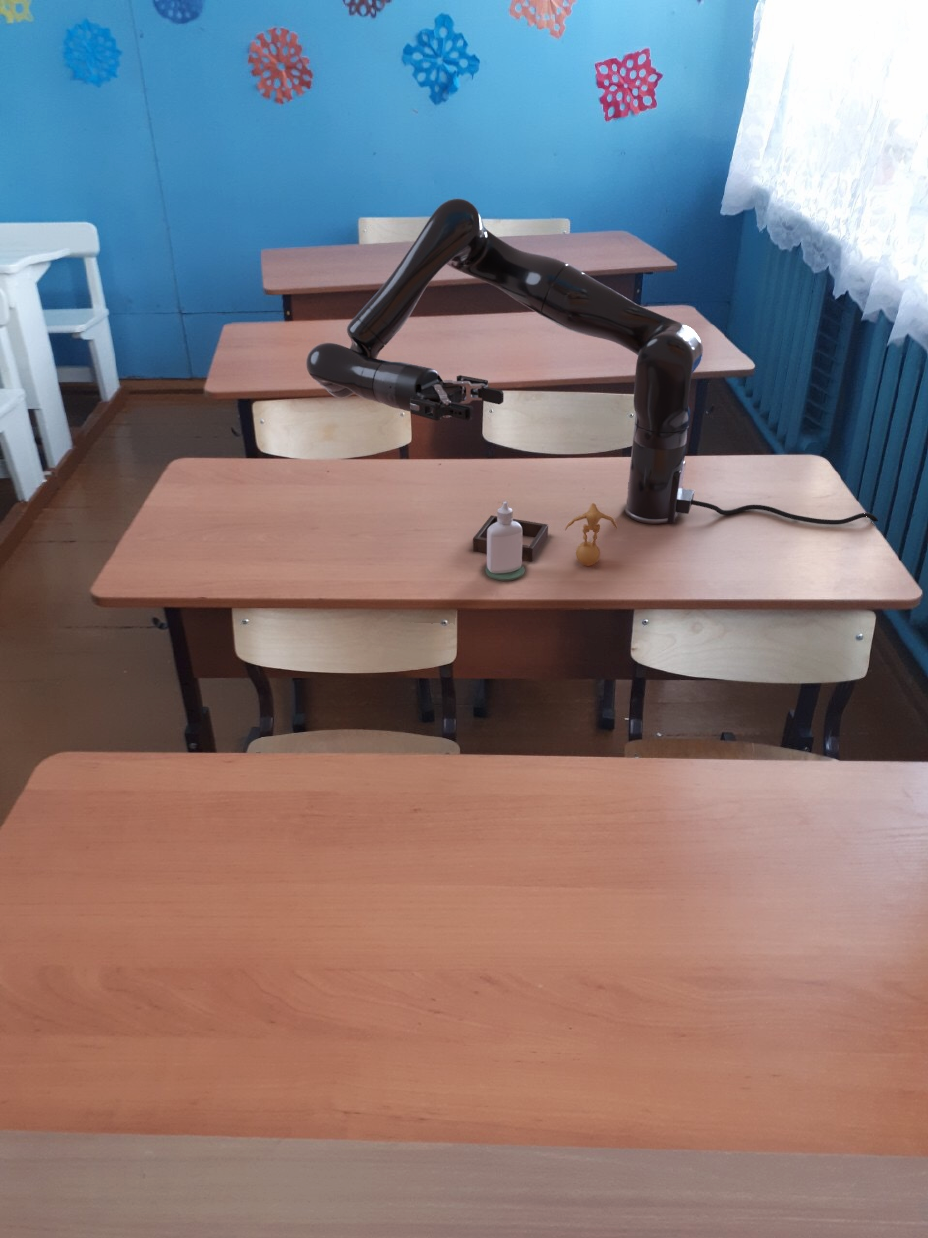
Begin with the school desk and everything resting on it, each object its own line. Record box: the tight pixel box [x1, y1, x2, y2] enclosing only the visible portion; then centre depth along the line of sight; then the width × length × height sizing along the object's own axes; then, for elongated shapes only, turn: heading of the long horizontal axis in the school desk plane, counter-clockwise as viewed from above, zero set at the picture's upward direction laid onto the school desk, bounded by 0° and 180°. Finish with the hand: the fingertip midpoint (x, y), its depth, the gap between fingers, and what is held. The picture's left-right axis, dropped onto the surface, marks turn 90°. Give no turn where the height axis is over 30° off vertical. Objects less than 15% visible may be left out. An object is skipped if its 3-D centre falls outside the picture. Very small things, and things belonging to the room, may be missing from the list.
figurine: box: [564, 502, 618, 567], centre depth 141 cm, size 8×6×12 cm
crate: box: [472, 515, 549, 562], centre depth 150 cm, size 11×9×2 cm
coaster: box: [485, 564, 525, 582], centre depth 143 cm, size 6×6×1 cm
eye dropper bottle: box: [486, 500, 523, 574], centre depth 140 cm, size 4×6×12 cm
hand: (487, 405), depth 138 cm, fingers open, 8 cm apart
